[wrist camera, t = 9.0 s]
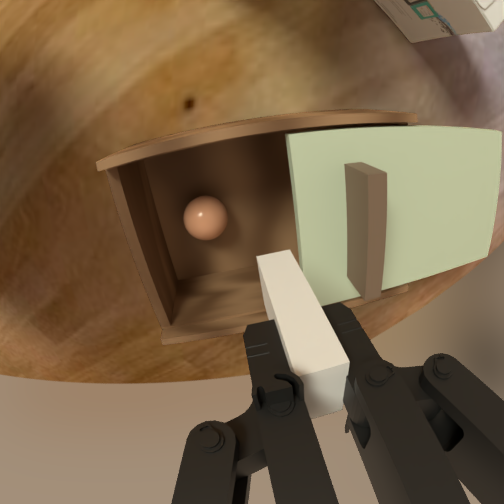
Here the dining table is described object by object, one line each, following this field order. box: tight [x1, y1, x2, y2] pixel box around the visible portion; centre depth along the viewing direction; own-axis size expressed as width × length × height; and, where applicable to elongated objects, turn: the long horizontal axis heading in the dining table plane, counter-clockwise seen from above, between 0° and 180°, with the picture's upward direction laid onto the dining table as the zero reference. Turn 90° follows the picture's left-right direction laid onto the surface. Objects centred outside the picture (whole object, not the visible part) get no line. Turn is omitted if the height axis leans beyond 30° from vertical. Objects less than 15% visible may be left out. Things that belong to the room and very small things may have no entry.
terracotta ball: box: [183, 195, 228, 240], centre depth 23 cm, size 4×4×4 cm
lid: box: [285, 125, 502, 306], centre depth 17 cm, size 20×12×4 cm, turn 99°
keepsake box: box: [96, 109, 417, 345], centre depth 22 cm, size 20×14×9 cm
